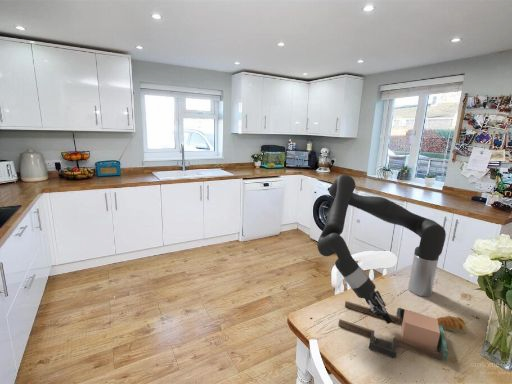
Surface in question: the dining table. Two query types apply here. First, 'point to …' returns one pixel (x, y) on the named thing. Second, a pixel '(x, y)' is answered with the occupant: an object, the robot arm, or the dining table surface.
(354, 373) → the dining table surface
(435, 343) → the block
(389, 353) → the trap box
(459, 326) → the pastry
